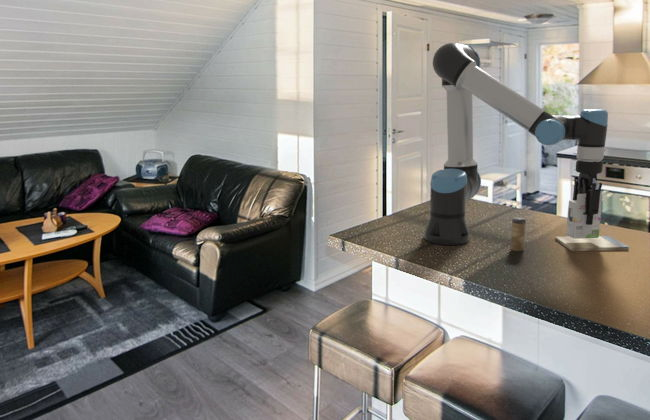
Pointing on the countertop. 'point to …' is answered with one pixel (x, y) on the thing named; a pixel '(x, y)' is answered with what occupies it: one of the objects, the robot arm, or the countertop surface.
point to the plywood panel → (591, 243)
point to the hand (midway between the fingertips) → (582, 231)
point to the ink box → (581, 218)
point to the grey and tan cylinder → (518, 234)
